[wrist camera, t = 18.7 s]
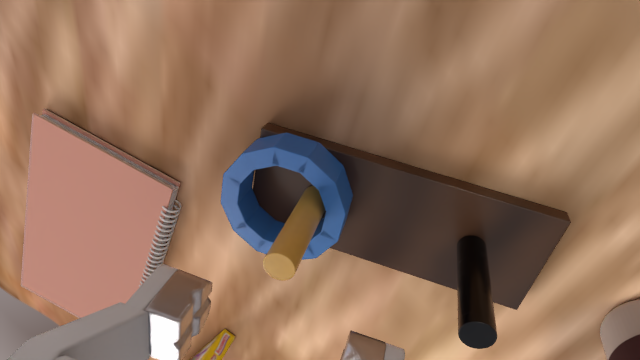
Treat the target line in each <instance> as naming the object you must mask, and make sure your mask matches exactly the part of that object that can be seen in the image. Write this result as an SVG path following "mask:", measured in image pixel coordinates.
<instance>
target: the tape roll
mask: <svg viewBox="0 0 640 360" xmlns="http://www.w3.org/2000/svg"><path fill="white" fill-rule="evenodd" d="M271 166H279V167H283V168H286V169H289V170H292V171H295V172H299V173H301V174H302V175H303V176H304V177H305V178H306V179H307V180H308V181H309V182H310V183H311V184H312V185H313V186H314V187H316V188H317V189H318V190H319V193H320V196H321V198H322V201H323V204H324V207H325V210H326V214H325V217H324V218H323V219H321V220H320V222H319V224H318V226H317V228H316V230H315V232H314V235H313V237H312V239H311V241H310V243H309V245H308V247H307V249H306V251H305V253H304V255H303V257H302V260H303V259H313V258H317V257H318V256H319V255H321V254H322V253H323V252H325V251H326V250H327V249H328V248H330V247H331V246H332V245H334V244H335V243H336V242H338V240H339V238H340V235H341V232H342V230H343V227H344V225H345V222H346V219H347V215H348V212H349V208H350V205H351V201H352V198H353V193H352V190H351V187H350V184H349V181H348V178H347V175H346V171H345V168H344V166H343V165H342V164H341V163H340V162H339V161H338V160H337V159H336V158H335V157H334V156H333V155H332V154H331V153H330V152H329V151H328V150H327V149H326V148H325V147H324V146H323V145H321V144H320V143H319V142H317V141H313V140H310V139H307V138H303V137H300V136H297V135H293V134H290V133H287V132H286V133H281V134H277V135H272V136H268V137H264V138H259V139H257V140H255V141H254V142H253V143H252V144H251V145H250V146H249V147H248V148H247V149H246V150H245V151H244V152H243V153H242V154H241V155H240V156H239V158H238V159H237V160H236V161H235V162H234V163H233V164H232V165H231V166H230V167H229V169H228V170H227V171H226V172H225V173H224V175H223V184H222V194H221V204H222V206H223V209H224V211H225V213H226V215H227V217H228V220H229V222H230V224H231V226H232V228H233V230H234V231H235V232H236V233H237V234H238V235H239V236H240V237H241V238H243V239H244V240H245V241H246V242H247V243H248V244H249V245H251V246H252V247H253V248H254V249H255V250H256V251H258V252H261V253H264V254H267V253H268V251H269V249H270V248H271V246H272V244H273V243H274V241H275V239H276V238H277V236H278V234H279V233H280V231H281V229H282V228H283V226H284V225H285V223H282V222H279V221H276V220H275V219H274V218H273V217H272V216H270V215H269V214H268V213H267V212H266V211H265V210H264V209H263V208H262V207H260V206H259V203H258V201H257V199H256V196H255V194H254V191H253V189H252V182H253V175H254V170H256V169H261V168H266V167H271Z"/></svg>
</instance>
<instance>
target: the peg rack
mask: <svg viewBox="0 0 640 360" xmlns="http://www.w3.org/2000/svg"><path fill="white" fill-rule="evenodd" d="M286 132H287V133H290V134H293V135H297V136H300V137H303V138H307V139H310V140H313V141H317V142H319V143H320V144H321V145H323V146H324V147H325V148H326V149H327V150H328V151H329V152H330V153H331V154H332V155H333V156H334V157H335V158H336V159H337V160H338V161H339V162H340V163H341V164H342V165H343V166H344V168H345V171H346V175H347V178H348V181H349V184H350V187H351V190H352V193H353V198H352V201H351V205H350V208H349V212H348V215H347V219H346V222H345V225H344V227H343V230H342V232H341V235H340V238H339V240H338V242H336V243H335V244H334V245H332V246H331V247H330V248H332V249H335V250H338V251H341V252H344V253H347V254H350V255H353V256H356V257H359V258H362V259H365V260H368V261H371V262H374V263H377V264H380V265H383V266H386V267H389V268H392V269H395V270H398V271H401V272H404V273H407V274H410V275H413V276H416V277H419V278H422V279H425V280H428V281H431V282H434V283H437V284H440V285H443V286H446V287H449V288H452V289H455V290H457V291H458V335H459V338H460V340H461V341H462V342H463V343H464V344H466V345H467V346H469V347H472V348H478V349H482V348H487V347H490V346H492V345H493V344H494V343H495V342H496V340H497V331H496V323H495V315H494V307H493V302H494V303H497V304H500V305H503V306H506V307H509V308H512V309H515V310H517V309H518V307H519V305H520V304H521V302H522V300H523V299H524V297H525V296H526V294H527V292H528V291H529V289H530V288H531V286H532V284H533V283H534V281H535V279H536V278H537V276H538V275H539V273H540V271H541V270H542V268H543V266H544V265H545V263H546V262H547V260H548V258H549V257H550V255H551V253H552V252H553V250H554V249H555V247H556V245H557V244H558V242H559V241H560V239H561V237H562V236H563V234H564V232H565V231H566V229H567V228H568V226H569V224H570V223H571V221H570V219H569V217H568V215H567V213H566V212H563V211H560V210H557V209H553V208H550V207H547V206H543V205H540V204H537V203H533V202H530V201H527V200H523V199H520V198H517V197H513V196H510V195H507V194H503V193H500V192H497V191H493V190H490V189H487V188H483V187H480V186H477V185H473V184H470V183H467V182H463V181H460V180H457V179H453V178H450V177H447V176H443V175H440V174H437V173H433V172H430V171H427V170H423V169H420V168H417V167H413V166H410V165H407V164H403V163H400V162H397V161H393V160H390V159H387V158H383V157H380V156H377V155H373V154H370V153H367V152H363V151H360V150H357V149H353V148H350V147H347V146H343V145H340V144H337V143H333V142H330V141H327V140H323V139H320V138H317V137H313V136H310V135H307V134H303V133H300V132H297V131H293V130H290V129H287V128H283V127H280V126H277V125H273V124H270V123H267V124H266V125H265V126H264V127H263V128H262V129H261V136H260V138H264V137H268V136H272V135H277V134H281V133H286ZM253 191H254V194H255V196H256V199H257V201H258V203H259V206H260V207H262V208H263V209H264V210H265V211H266V212H267V213H268V214H269V215H270V216H272V217H273V218H274V219H275V220H276V221H279V222H282V223H285V225H284V226H283V228H282V229H281V231H280V233H279V234H278V236H277V238H276V239H275V241H274V243H273V244H272V246H271V248H270V249H269V251H268V253H267V254H266V256H265V258H264V260H263V267H264V269H265V271H266V272H267V274H268V275H270V276H271V277H272V278H274V279H277V280H282V281H283V280H289V279H291V278H292V277H293V276H294V274H295V272H296V270H297V268H298V266H299V264H300V262H301V260H302V257H303V255H304V253H305V251H306V249H307V247H308V245H309V243H310V241H311V239H312V237H313V235H314V232H315V230H316V228H317V226H318V224H319V222H320V220H321V219H323V218H324V217H325V214H326V210H325V207H324V204H323V201H322V198H321V196H320V193H319V190H318V189H317V188H316V187H314V186H313V185H312V184H311V183H310V182H309V181H308V180H307V179H306V178H305V177H304V176H303V175H302V174H301V173H299V172H295V171H292V170H289V169H286V168H283V167H279V166H271V167H266V168H261V169H256V172H255V179H254V186H253Z"/></svg>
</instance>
